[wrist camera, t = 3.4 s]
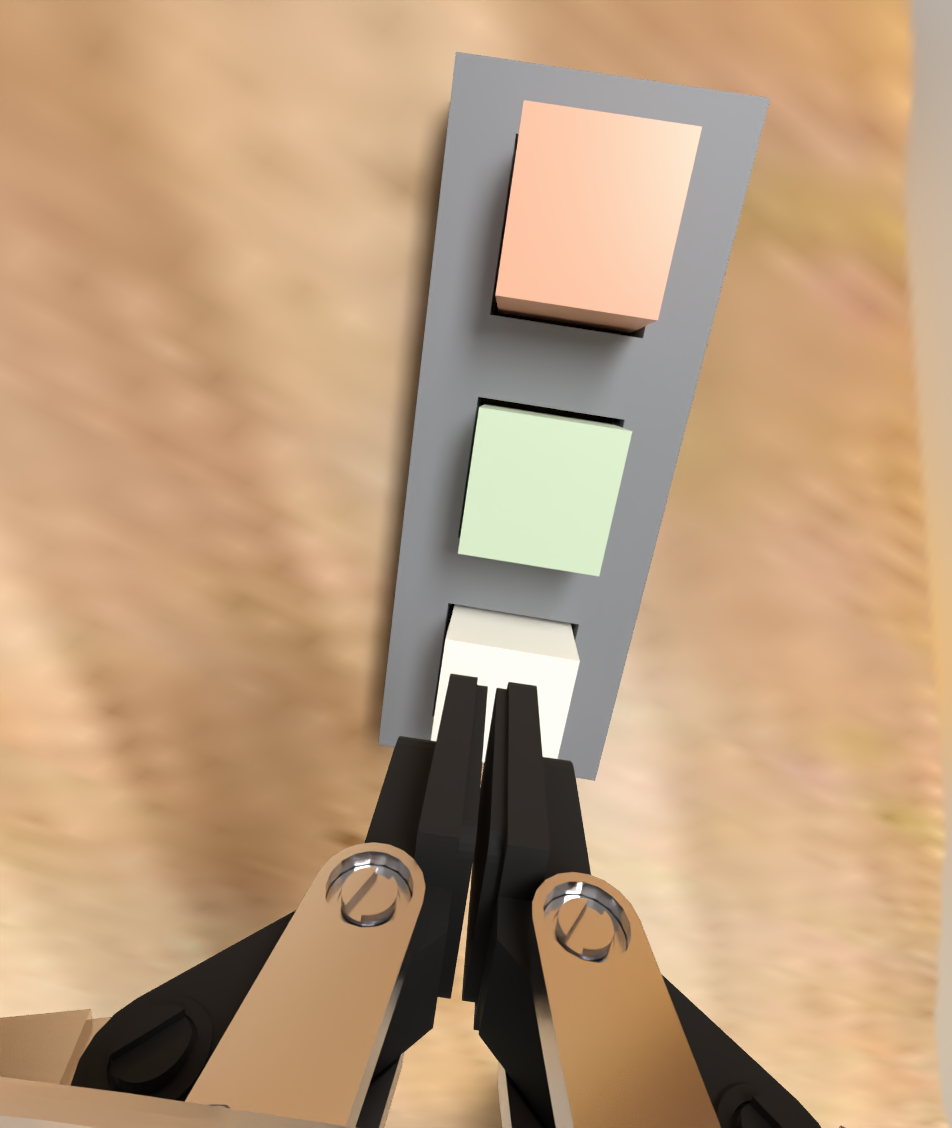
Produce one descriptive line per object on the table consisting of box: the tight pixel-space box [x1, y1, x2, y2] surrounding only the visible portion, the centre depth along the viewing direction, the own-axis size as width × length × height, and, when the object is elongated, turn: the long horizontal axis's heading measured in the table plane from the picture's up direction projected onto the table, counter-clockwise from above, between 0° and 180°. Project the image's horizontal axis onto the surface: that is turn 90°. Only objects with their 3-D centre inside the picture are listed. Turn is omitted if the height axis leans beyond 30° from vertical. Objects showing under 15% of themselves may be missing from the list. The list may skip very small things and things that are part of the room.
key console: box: [378, 52, 770, 781], centre depth 27 cm, size 12×31×3 cm, turn 171°
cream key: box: [431, 604, 580, 762], centre depth 28 cm, size 6×6×5 cm
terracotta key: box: [495, 100, 702, 333], centre depth 22 cm, size 6×6×5 cm
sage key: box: [458, 404, 632, 576], centre depth 25 cm, size 6×6×5 cm
